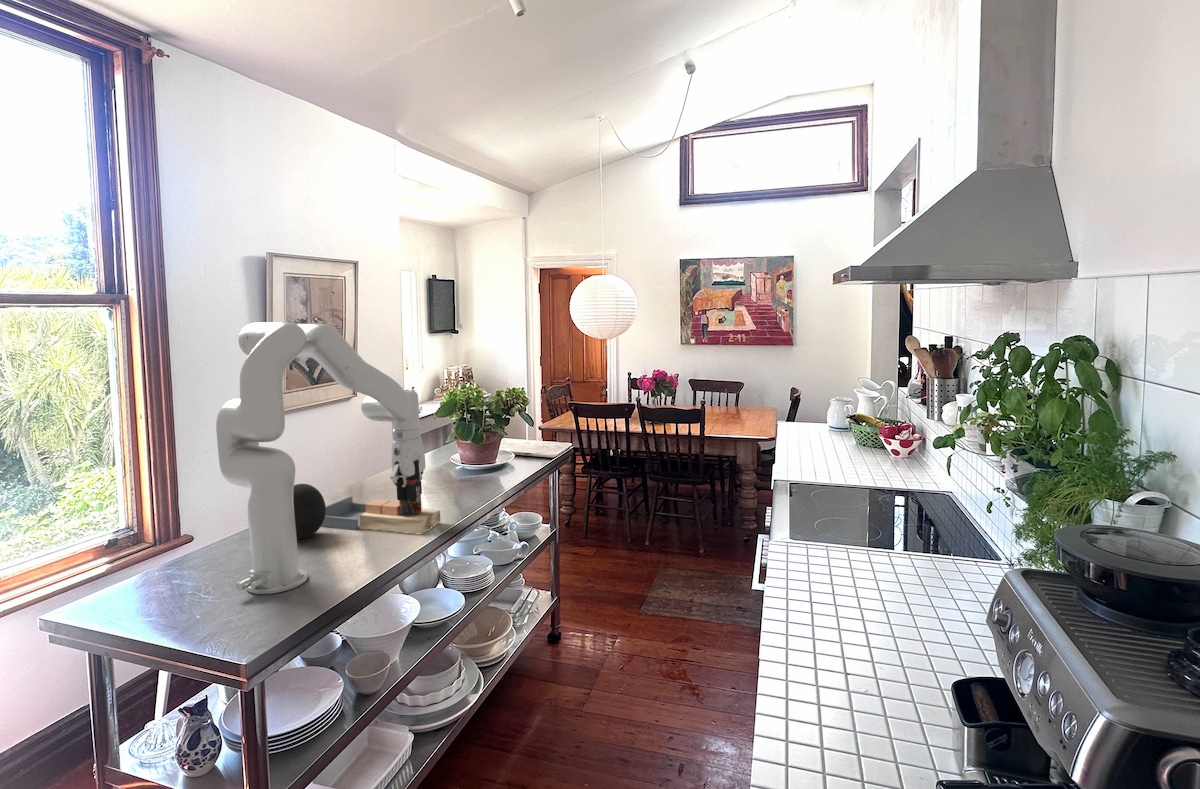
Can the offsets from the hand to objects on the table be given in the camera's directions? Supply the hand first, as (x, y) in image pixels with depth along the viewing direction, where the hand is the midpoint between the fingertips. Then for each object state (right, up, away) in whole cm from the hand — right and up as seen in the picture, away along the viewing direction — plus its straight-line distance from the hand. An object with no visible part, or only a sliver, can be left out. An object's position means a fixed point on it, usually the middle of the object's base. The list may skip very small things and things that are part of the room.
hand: (409, 496), depth 187 cm
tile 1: (-10, -5, +4) cm, 12 cm away
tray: (-19, -8, +9) cm, 23 cm away
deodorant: (0, -5, +1) cm, 5 cm away
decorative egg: (-28, -11, -5) cm, 30 cm away
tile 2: (-5, -5, +3) cm, 8 cm away
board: (-3, -9, +3) cm, 10 cm away
